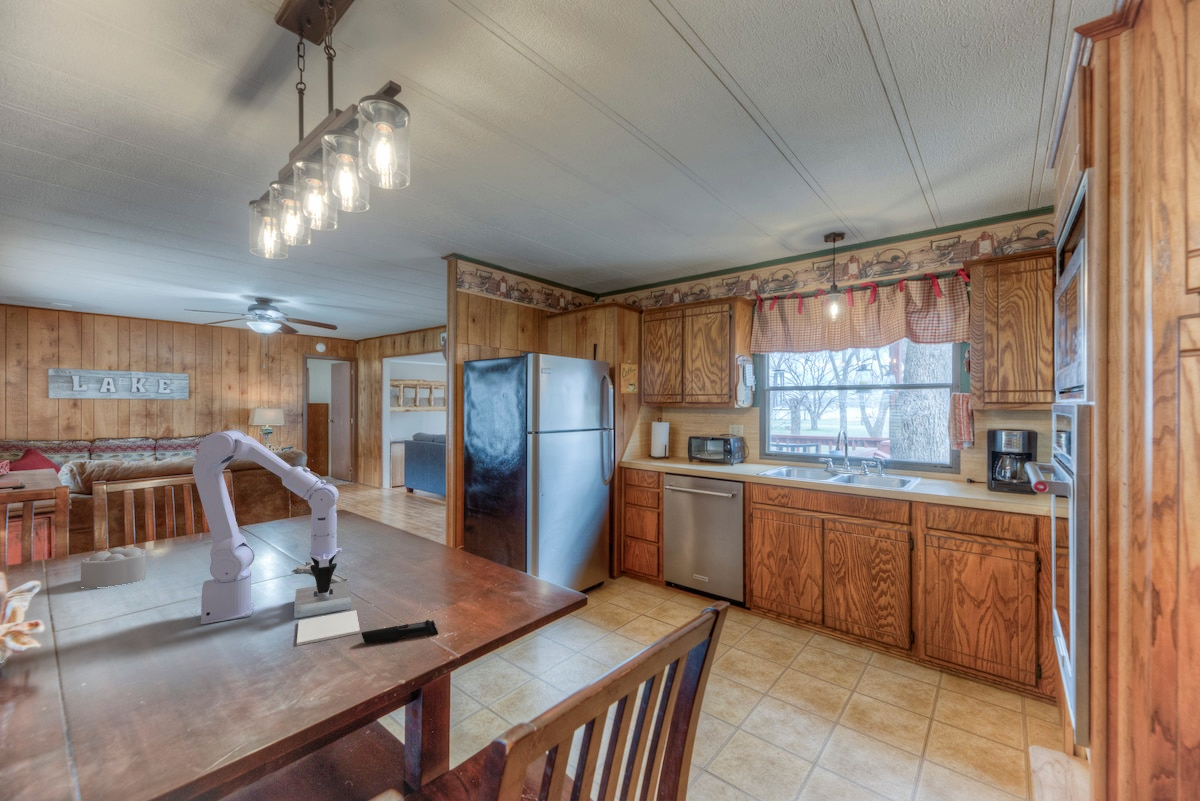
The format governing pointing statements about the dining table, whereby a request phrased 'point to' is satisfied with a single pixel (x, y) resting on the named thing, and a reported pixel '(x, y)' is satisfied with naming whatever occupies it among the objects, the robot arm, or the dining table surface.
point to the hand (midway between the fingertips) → (323, 587)
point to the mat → (327, 627)
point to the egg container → (113, 567)
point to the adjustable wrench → (307, 569)
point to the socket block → (322, 600)
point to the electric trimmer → (400, 632)
